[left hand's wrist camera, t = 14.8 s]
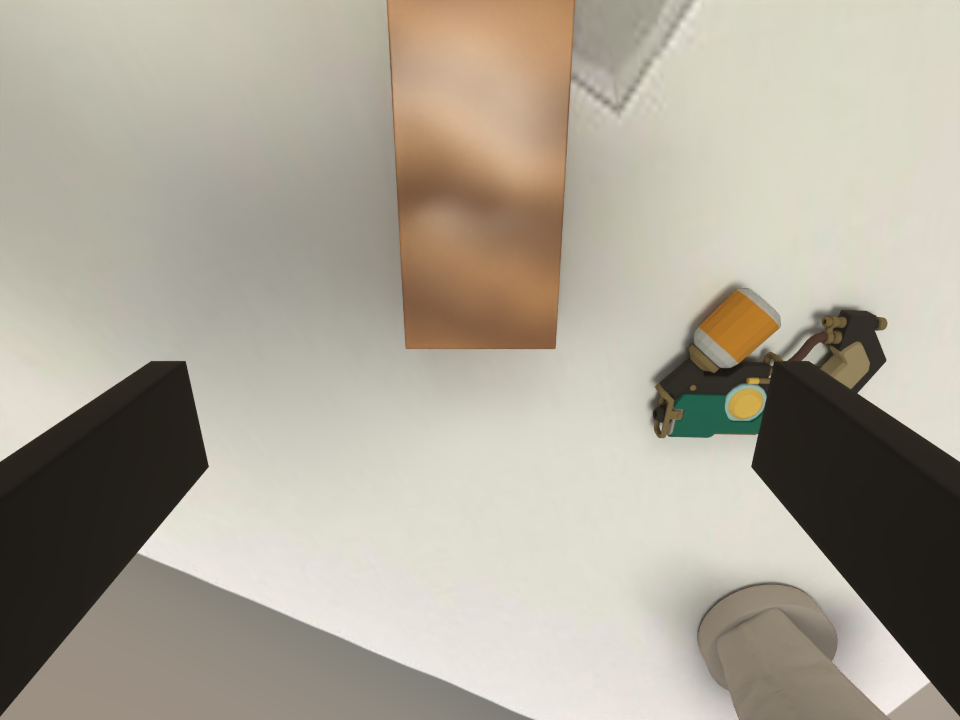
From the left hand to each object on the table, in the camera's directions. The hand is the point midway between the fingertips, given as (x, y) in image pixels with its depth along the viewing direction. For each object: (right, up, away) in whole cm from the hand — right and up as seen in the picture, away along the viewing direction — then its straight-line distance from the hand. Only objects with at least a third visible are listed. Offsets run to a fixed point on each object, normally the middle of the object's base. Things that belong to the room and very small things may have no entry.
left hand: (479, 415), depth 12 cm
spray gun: (+23, 0, +33) cm, 41 cm away
